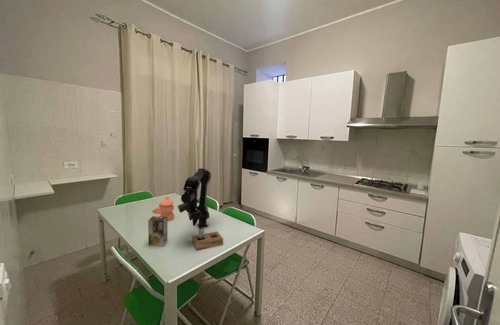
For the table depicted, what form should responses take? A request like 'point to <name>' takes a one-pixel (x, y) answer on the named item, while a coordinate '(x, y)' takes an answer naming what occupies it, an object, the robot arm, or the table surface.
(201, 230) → the pin
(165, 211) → the ceramic vessels
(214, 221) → the table surface
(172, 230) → the table surface
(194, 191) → the robot arm
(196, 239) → the bore block
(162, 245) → the coffee box
